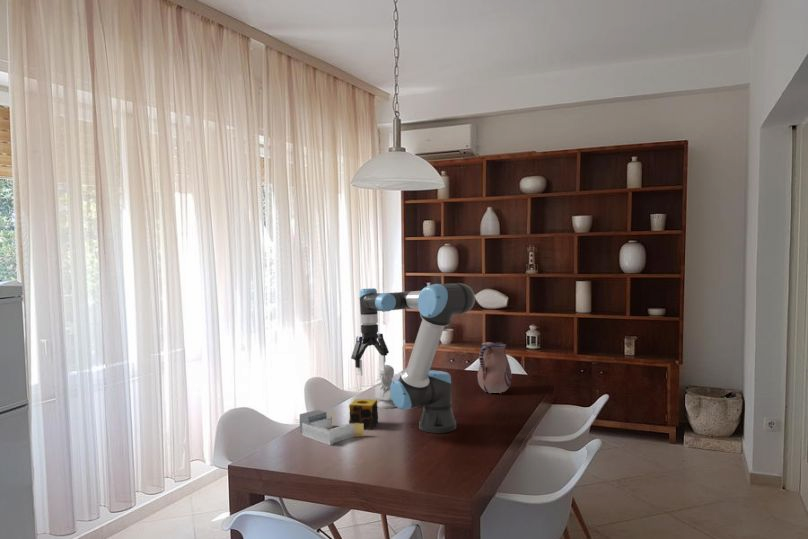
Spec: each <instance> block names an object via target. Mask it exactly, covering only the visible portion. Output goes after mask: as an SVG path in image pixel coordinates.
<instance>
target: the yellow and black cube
mask: <svg viewBox="0 0 808 539" xmlns="http://www.w3.org/2000/svg"><path fill="white" fill-rule="evenodd" d="M377 404H378V399H369V398H368V399H366V398H365V399H364V398H361V399H360V398H355V399H354V400H353V401H352V402H351V403H350V404H349V407H348V408H349V413H348V414H349V420H348V424H350V423H364V430H374V428H376V426H377V424H378V423H379V413H378V406H377Z"/></svg>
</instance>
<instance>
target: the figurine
mask: <svg viewBox="0 0 808 539" xmlns="http://www.w3.org/2000/svg"><path fill="white" fill-rule="evenodd" d="M394 375H395V370H394V367H393V366H391V365H389V364H385V371H382V370H380V369H379V379H380V382H381V384H379V385H377V386H375V388H374V398H375V399H376V400H379V402H377V408H380V409H394V408H397V407H396V405H395V404H394V402H393V400H392V397H391V394H390V386H391V383H392V382H393V380H392V379H393V378H394Z"/></svg>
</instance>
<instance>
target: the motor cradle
mask: <svg viewBox="0 0 808 539" xmlns="http://www.w3.org/2000/svg"><path fill="white" fill-rule="evenodd" d="M299 432H301V434H302V436H303V437H305V438H309V439H311V440H314V441H317V442H318V443H319V442H320V443H322V444H325V445H328V446H332V445H334V443H335V444H336V443H339V442H341V440H342V441H344V439H345V440H347V439H348V440H349V439H350V438H355V437H364V436H365V429H364V423H350V424H349V423H347V424H344V425H341V426H336V427H334V413H330V414H329V416H327V411H324V410H320V409H315V410H311V411H308V412H304V413H300V414H299Z"/></svg>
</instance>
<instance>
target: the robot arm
mask: <svg viewBox="0 0 808 539" xmlns="http://www.w3.org/2000/svg"><path fill="white" fill-rule="evenodd" d="M358 299H359V310H360V324H361V325H360V332H361V336H356V338H355V344H354V347H353V351H352V353H351V357H350V358H351V360H354V361H355V362H354V363H355V364H354V365H355V368H356V376H361V377H362V376H363V360H362V357H363V355H364V353H365V351H366V349H367V348H368V347H371V346H374V348H375V349H376V351H378V353H379V354H380V355H378V362H379V363H378V364H379V366H378V367H379V368H378V369H379V371H380V370H382V371H385V365H386V364H385V363H386V356H388V354H389V353H390V352H389V349H388V346H387V344H386V342H385V339H384V334H383V333H379V324H378V323H379V318H378V315H379V314H378V313H379V312H382V313H384V312H385V313H386V312H391V311H398V310H415V309H416V310H418V312H419V315H420V318H421V323H420V326H419V329H418V332H417V335H416V338H415V341H414V344H413V348H412V351H411V353H410V357H409V359H408V363H407V366H406V368H404V369H403V370H402V371H401V372H400V376H399V378H398V379H395V380H392V383H391V386H390V394H391V397H392V400H393V402H394V404H395V405H396V407H395V408H397V409H399V410H401V411H406V410H411V409H416V408H420V407H422V412H421V415H420V420H419V422H418V428H419V430H421V431H422V432H427V433H430V434H431V433H432V434H444V433H450V432H453V431H455V430H456V429H457V420H456V418H455V416H454V412H453V408H452V376H451V374H450V373H449V372H446V371H442V370H433V369H431V367H432V364H433V361H434V360H435V359H434V358H435V356H436V352H437V350H438V347H439V344H440V340H441V337H442V334H443V332H444V329H445V327H448V326H449V325H450V324H451V322H452V318H453V316H455V315H463V314H466V313H467V312H469V311H471V310H472V308H473V307H474V305H475V302H476V295H475V292H474V291H473V289H472V288H471V287H470V286H469V285H468V284H465V283H460V282H456V283H455V282H454V283H433V284H428V285H427V286H425V287H423V288H422V289H421V290H415V291H413V290H409V291H400V292H399V291H398V292H397V291H396V292H395V291H394V292H381V293H380V292H379V293H378V290H377V289H376V288H361V289H360V290H359V297H358Z"/></svg>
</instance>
